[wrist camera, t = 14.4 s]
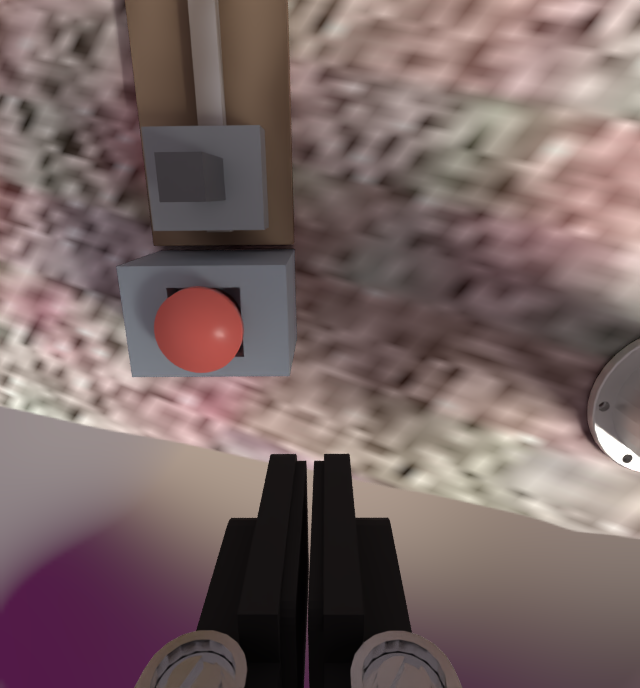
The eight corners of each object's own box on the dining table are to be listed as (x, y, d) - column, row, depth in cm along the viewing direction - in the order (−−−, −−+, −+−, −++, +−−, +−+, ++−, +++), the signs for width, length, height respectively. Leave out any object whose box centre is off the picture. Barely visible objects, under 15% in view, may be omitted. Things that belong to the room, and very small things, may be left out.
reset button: (249, 276, 30) (238, 288, 26) (253, 351, 31) (244, 372, 27) (170, 277, 30) (148, 289, 26) (178, 352, 31) (159, 373, 28)
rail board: (283, -175, 27) (275, -242, 23) (294, 242, 35) (289, 249, 31) (113, -171, 28) (74, -237, 23) (160, 243, 35) (137, 250, 31)
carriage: (266, 132, 31) (245, 110, 23) (270, 226, 33) (252, 237, 25) (160, 133, 31) (102, 112, 23) (170, 227, 33) (120, 238, 25)
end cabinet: (294, 249, 35) (286, 264, 27) (296, 338, 37) (289, 376, 30) (161, 250, 35) (116, 266, 28) (171, 339, 37) (132, 376, 30)
